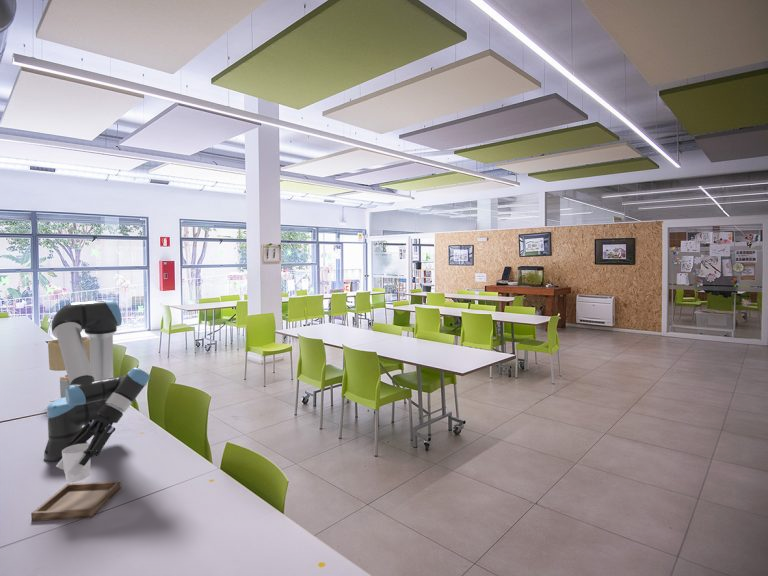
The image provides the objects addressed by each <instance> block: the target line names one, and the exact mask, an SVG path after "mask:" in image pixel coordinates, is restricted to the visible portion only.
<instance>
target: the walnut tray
mask: <svg viewBox="0 0 768 576" xmlns="http://www.w3.org/2000/svg"><path fill="white" fill-rule="evenodd" d="M120 489H121V481H120V480H119V481H98V482H95V481H94V482H80V483H79V482H71V483H66V484H65V485H64V486H63V487H61V489H59V490H58V491H57V492H55V493H54V494H53V495H51V497H49V498H48V499H47V500H45V501H44V502H43V503H42V504H41V505H39V506H38V507H37V508H36V509H35V510H34V511H32V512H31V514H30V515H31V518H30V519H31V522H37V521H57V520H58V521H59V520H77V519H92V518H93V517H94V516H96V514H97V513H99V511H100V510H101V509H103V507H105V505H106V504H107V503H108V502H109V501H110V500H111V499H112V498H113V496H115V495H116V493H118V492H119V490H120ZM109 499H110V500H109ZM108 500H109V501H108Z"/></svg>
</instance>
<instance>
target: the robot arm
mask: <svg viewBox="0 0 768 576" xmlns="http://www.w3.org/2000/svg"><path fill="white" fill-rule="evenodd" d="M122 320H123V319H122V312H121V310H120V307H119V304H118V303H117V302H116V301H115V300H113V299H110V300H105V299H103V300H102V299H101V300H90V301H88V300H87V301H74V302H73V301H72V302H70V303H68V304H65V305H63V306H62V307H61V308H60V309H59V310H58V311H57V312H56V313H55V315H54V316H53V319H52V321H51V332H52V335H53V337H54V338H56V340H57V339H58V342H59V346H60V350H61V353H62V357H63V361H64V364H65V368H66V370H65V371H66V375H68V379H69V382H70V386H67V387H66V389H65V397H64V398H61V399H58V400H56V401H54V402H50V403H49V405H48V406H47V409H46V419H47V433H48V435H47V437H48V440H47V442H46V445H45V449H44V451H43V452H44V453H43V457H44V458H43V459H44V460H45V461H47V462H57V464H56V465H55V467H56V468H58V469H59V470H63V471H64V466H63V458H62V450H63V449H65V448H67V447H69V446H72V445H76V444H83V443H86V444H90V445H89V447H88V449H87V451H85V452H84V453H85V454H84V453H83V454H82V455H81V457H80V458H79V459H78V461H77V462H76V463H75V464H74V466H73V467H72V468H71V470H70V471H69V473H71V474H73V475H75V476H77V475H78V473H79V472H80V471H81V469H82V468H83V467H84V466H85V465H86V463H87V462H88V461H89V459H90V458H93V457H99V456H98V455H99V454H100V452H101V451H102V450H103V448H104V446H105V445H106V443H107V441H108V440H109V439H110V437H111V436H112V434H113V433H114V432H115V430H116V428H115V427H114V426H113V424H117V423H118V422H119V421H120V420H121V418H122V417H123V415H124V413H126V411H127V410H128V409H129V408H130V406H131V405H132V404H133V402H134V401H135V400H136V398H137V397H138V396H139V395H140V393H141V392H142V390H143V389H144V388H145V387H146V386H147V384H148V383H149V381H150V379H151V376H150V374H149V373H148V372H146V371H145V370H143V369H141V368H138V367H132V368H131V369H130V370H129V371H128V372H127V374H126V375H119V376H115V377H114V340H113V339H114V336H113V335H114V334H115V333H117V331H118V329H117V328H118V327H119V326H121V325H122ZM82 330H84V333H85V335H87V336H88V338H89V346H90V363H89V360H88V357H87V353H86V350H85V347H84V344H83V340H82V337H83V336H82V335H81V333H82ZM90 439H91V441H90V443H88V441H89V440H90Z"/></svg>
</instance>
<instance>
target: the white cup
mask: <svg viewBox="0 0 768 576" xmlns="http://www.w3.org/2000/svg"><path fill="white" fill-rule="evenodd" d="M89 445H90V443H88V444H86V443H83V444H76V445H72V446H69V447H67V448H65V449H63V450H62V458H63V466H64V470H63V472H64V476H65V482H68V483H77V482H79V481H82V480H83V481H84V480H85V479H87V478H89V476H90V475H91V460H92V459H91V458H92V457H91V458H90V459H89V461H88V462H87V463H86V465H85V466H84V467H83V468H82V469H81V471H80V472H79V473H78V475H77V476H75V475H73V474H71V473H69V471H70V470H71V468H72V467H73V466H74V464H75V463H76V462H77V461H78V459H79V458H80V457H81V455H82V454H83V453H84V452H85V451H87V449H88V447H89ZM84 454H85V453H84Z"/></svg>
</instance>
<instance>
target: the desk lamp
mask: <svg viewBox="0 0 768 576" xmlns="http://www.w3.org/2000/svg"><path fill="white" fill-rule="evenodd" d="M81 337H82V340H83V344H84V347H85V350H86V353H87V357H88V360H89V363H90V346H89V337H83V336H81ZM47 345H48V346H47V349H48V366H49V367H48V368H49V370H50V371H55V372H57V371H58V372H62V371H66V368H65V364H64V361H63V357H62V353H61V350H60V346H59V342H58V339H57V338H56V339H52V340H51V341H50V340H49V341H48V342H47ZM67 386H70V382H69V379H68V375H67V374H66V375H64V376H61V377H59V390H60V391H59V392H60V396H59V397H57V398H54V399H52V400H50V401H49V402H50V403H52V402H54V401H56V400H58V399H61V398H64V397H65V389H66V387H67Z"/></svg>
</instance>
